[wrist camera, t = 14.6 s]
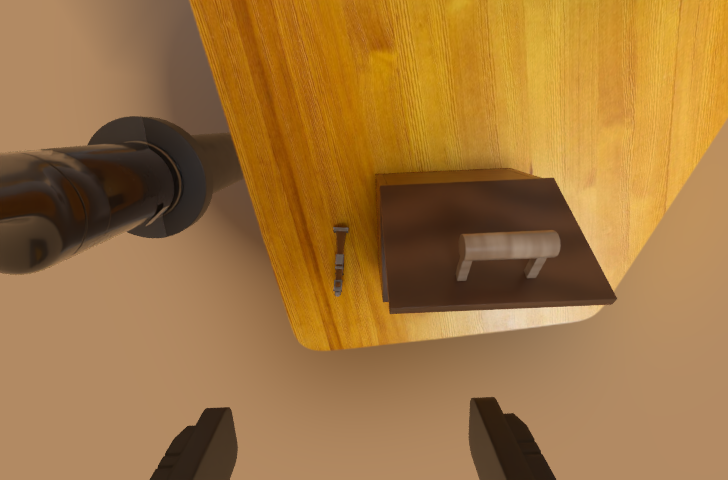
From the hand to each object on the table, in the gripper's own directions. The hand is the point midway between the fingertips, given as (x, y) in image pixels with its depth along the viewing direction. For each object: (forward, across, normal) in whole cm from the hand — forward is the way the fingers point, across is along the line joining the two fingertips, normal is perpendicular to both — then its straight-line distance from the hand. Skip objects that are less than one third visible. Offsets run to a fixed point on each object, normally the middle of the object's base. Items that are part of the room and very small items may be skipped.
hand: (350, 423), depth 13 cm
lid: (+19, -10, 0) cm, 21 cm away
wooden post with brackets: (+34, +2, +6) cm, 35 cm away
